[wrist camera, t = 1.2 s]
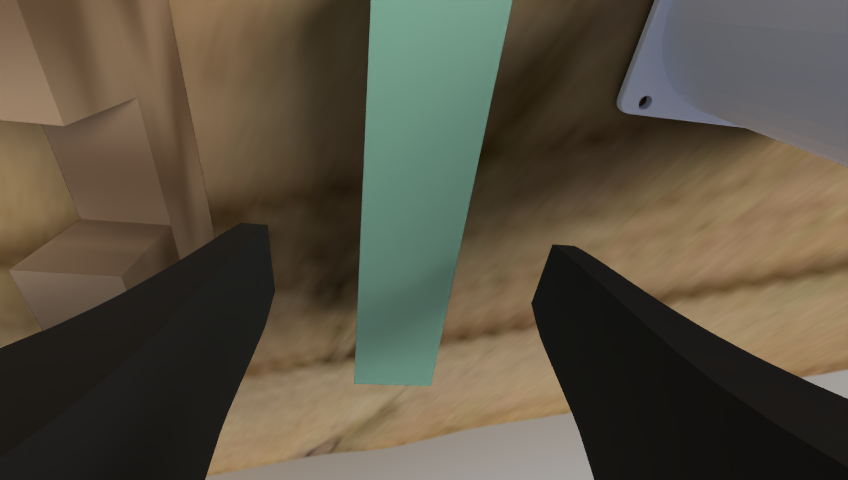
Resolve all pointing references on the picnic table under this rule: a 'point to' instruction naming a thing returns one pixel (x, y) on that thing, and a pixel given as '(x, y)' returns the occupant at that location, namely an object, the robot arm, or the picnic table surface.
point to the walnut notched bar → (104, 145)
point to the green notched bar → (419, 173)
